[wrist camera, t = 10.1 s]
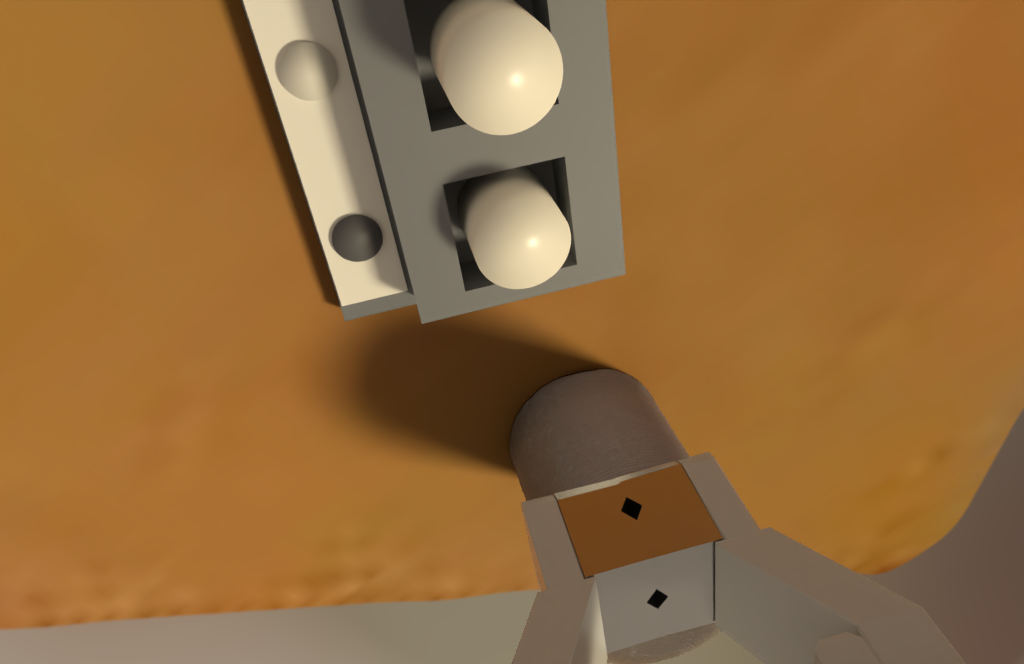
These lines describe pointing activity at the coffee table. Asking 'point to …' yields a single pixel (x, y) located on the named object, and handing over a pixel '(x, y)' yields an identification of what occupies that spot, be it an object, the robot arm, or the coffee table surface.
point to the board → (431, 149)
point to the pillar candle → (598, 459)
